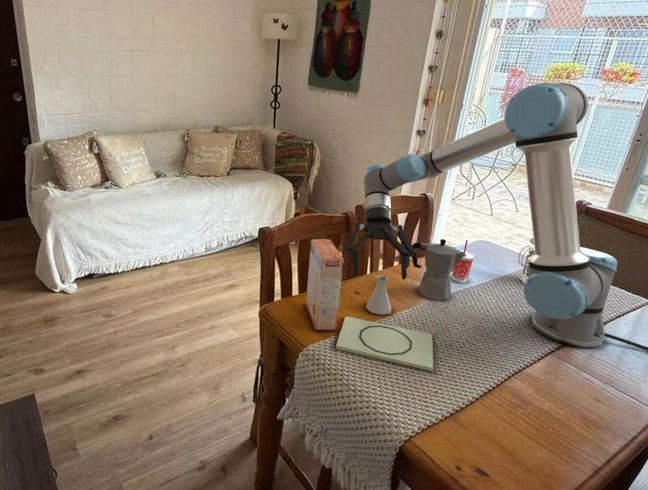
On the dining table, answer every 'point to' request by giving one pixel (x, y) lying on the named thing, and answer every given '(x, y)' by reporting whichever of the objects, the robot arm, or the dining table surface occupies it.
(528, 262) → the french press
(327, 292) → the cracker box
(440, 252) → the coffeepot
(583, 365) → the dining table surface
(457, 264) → the beverage cup
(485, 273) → the dining table surface
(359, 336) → the drawing board
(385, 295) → the flask
